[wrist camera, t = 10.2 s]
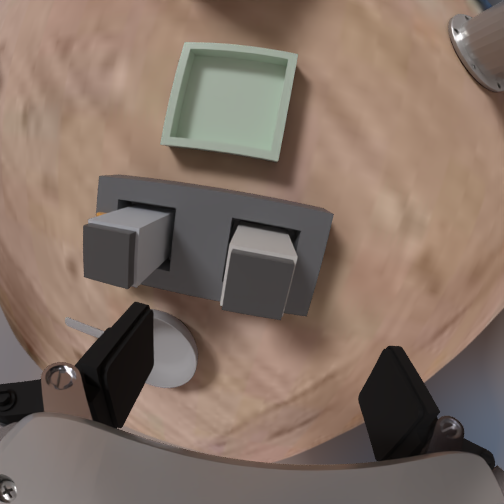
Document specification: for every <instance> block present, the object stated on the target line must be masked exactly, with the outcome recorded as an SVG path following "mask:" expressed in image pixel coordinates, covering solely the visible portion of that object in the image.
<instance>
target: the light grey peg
mask: <svg viewBox="0 0 504 504" xmlns="http://www.w3.org/2000/svg"><path fill="white" fill-rule="evenodd" d="M175 214H176V210H171V209H165V208H159V207H153V206H146V205H140V204H136V205H133V206H129V207H126V208H122V209H119V210H116V211H112V212H109V213H106V214H103V215H100V216H97V217H93V218H90V219H88V224H86V225H84V226H83V262H84V277H86V278H89V279H93V280H96V281H100V282H103V283H107V284H110V285H114V286H118V287H122V288H125V289H129V288H130V287H131V286H132V287H136V288H137V287H138V286H139V285H140V284H141V283H142V282H143V281H144V280H145V279H146V278H147V277H148V276H149V275H150V274H151V273H152V272H153V271H154V270H155V269H156V268H158V267H159V266H160V265H161V264H162V263H163V262H164V261H165V260H166V259H167V258H168V257H169V256H170V255H171V250H172V241H173V231H174V223H175Z"/></svg>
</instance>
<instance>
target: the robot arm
mask: <svg viewBox="0 0 504 504" xmlns="http://www.w3.org/2000/svg"><path fill="white" fill-rule="evenodd" d="M448 28H449V35H450V39H451V41H452V44H453V46H454V48H455V51H456V53H457V54H458V56H459V58H460V60H461V61H462V63H463V64H464V66H465V67H466V68H467V70H468V71H469V72H470V73H471V75H472V76H473V77H474V78H475V79H476V80H477V81H478V82H479V83H480V84H481V85H483V86H484V87H485V88H487V89H488V90H491V91H493V92H501V91H504V1H502V2H500V3H498V4H497V5H494V6H493V7H491V8H489V9H487V10H485V11H484V12H482V13H480V14H478V15H477V16H475V17H473V18H472V17H470V16H468V15H464V14H458V15H455V16H454V17H452V18H451V19H450V21H449V26H448ZM153 366H154V312H153V310H151V309H150V307H149V305H146V304H142V303H139V302H134V303H133V304H132V305H131V306H130V307H129V308H128V310H127V311H126V312H125V313H124V314H123V315H122V316H121V317H120V318H119V319H118V321H117V322H116V323H115V324H114V325H113V326H112V327H110V328H108V329H106V330H105V332H104V333H103V334H102V335H101V336H100V337H99V338H98V339H97V340H96V342H95V343H94V344H93V345H92V346H91V347H90V348H89V350H88V351H87V352H86V353H85V354H84V355H83V357H82V358H81V359H80V360H79V361H78V362H77V364H76V365H75V366H74V365H72V364H70V363H66V362H57V363H53V364H51V365H49V366H47V367H46V368H45V369H44V370H43V372H42V376H41V379H40V380H33V381H25V382H17V383H8V384H0V504H504V471H503V470H502V469H501V468H500V467H499V466H496V467H494V466H495V460H494V457H493V454H492V453H491V452H490V451H488V450H486V449H484V448H482V447H480V446H478V445H476V444H474V443H472V442H470V441H468V440H466V439H464V428H463V426H462V424H461V423H460V422H459V421H458V420H457V419H455V418H454V417H451V416H442V417H440V418H439V419H437V415H438V414H439V413H440V411H439V409H438V407H437V405H436V404H435V402H434V400H433V398H432V396H431V395H430V393H429V391H428V389H427V388H426V386H425V384H424V383H423V381H422V379H421V377H420V376H419V374H418V372H417V371H416V369H415V367H414V366H413V364H412V363H411V361H410V359H409V358H408V356H407V355H406V353H405V351H404V350H403V348H402V347H400V346H388V347H387V348H386V349H384V350H383V351H382V353H381V355H380V357H379V359H378V361H377V363H376V365H375V367H374V368H373V370H372V372H371V374H370V376H369V378H368V380H367V381H366V383H365V385H364V387H363V388H362V390H361V392H360V394H359V398H358V401H359V404H360V408H361V411H362V414H363V417H364V421H365V424H366V427H367V431H368V434H369V438H370V441H371V445H372V448H373V451H374V455H375V459H376V460H377V462H368V463H356V464H340V465H294V464H276V463H264V462H255V461H247V460H239V459H232V458H226V457H220V456H215V455H209V454H204V453H200V452H195V451H190V450H186V449H182V448H178V447H174V446H171V445H167V444H164V443H160V442H156V441H153V440H150V439H146V438H143V437H140V436H137V435H134V434H131V433H128V432H125V431H122V430H119V429H117V427H118V428H122V427H123V425H124V423H125V421H126V419H127V417H128V415H129V413H130V411H131V409H132V407H133V405H134V403H135V401H136V399H137V398H138V396H139V394H140V392H141V390H142V388H143V386H144V384H145V382H146V380H147V379H148V377H149V375H150V373H151V371H152V369H153Z"/></svg>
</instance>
